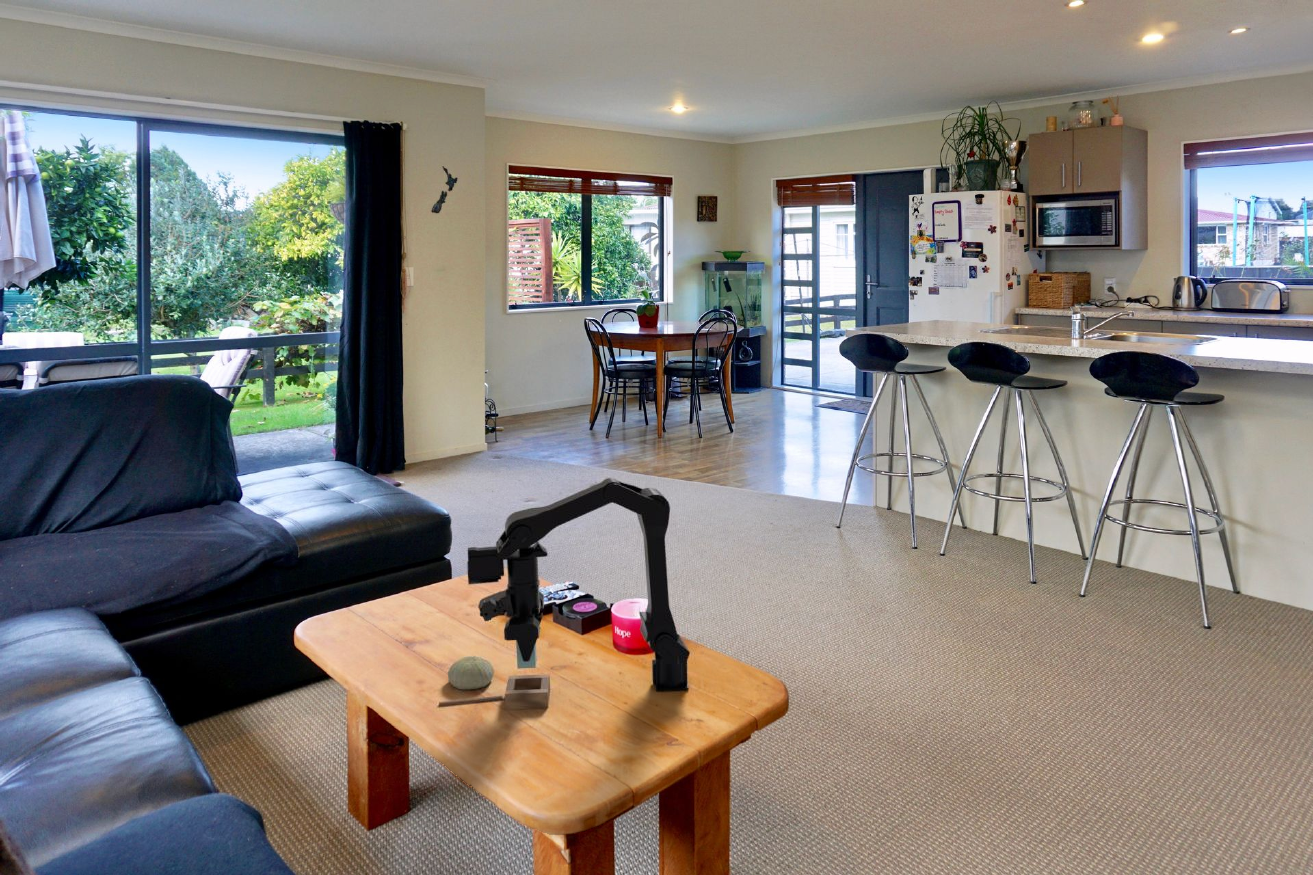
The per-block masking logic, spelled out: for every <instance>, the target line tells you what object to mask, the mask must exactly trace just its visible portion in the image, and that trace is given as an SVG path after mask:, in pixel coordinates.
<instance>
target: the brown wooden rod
mask: <svg viewBox="0 0 1313 875" xmlns="http://www.w3.org/2000/svg"><path fill="white" fill-rule="evenodd" d="M503 698H504V697H503V695H495V696H493V695H492V696H486V697H485V696H483V697H476V698H475V697H474V698H467V699H466V698H465V699H456V700H455V699H454V700H445V701H439V702H438V706H440V707H442V706H451V705H462V704H469V703H480V702H489V701H498V700H504V699H503Z"/></svg>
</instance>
